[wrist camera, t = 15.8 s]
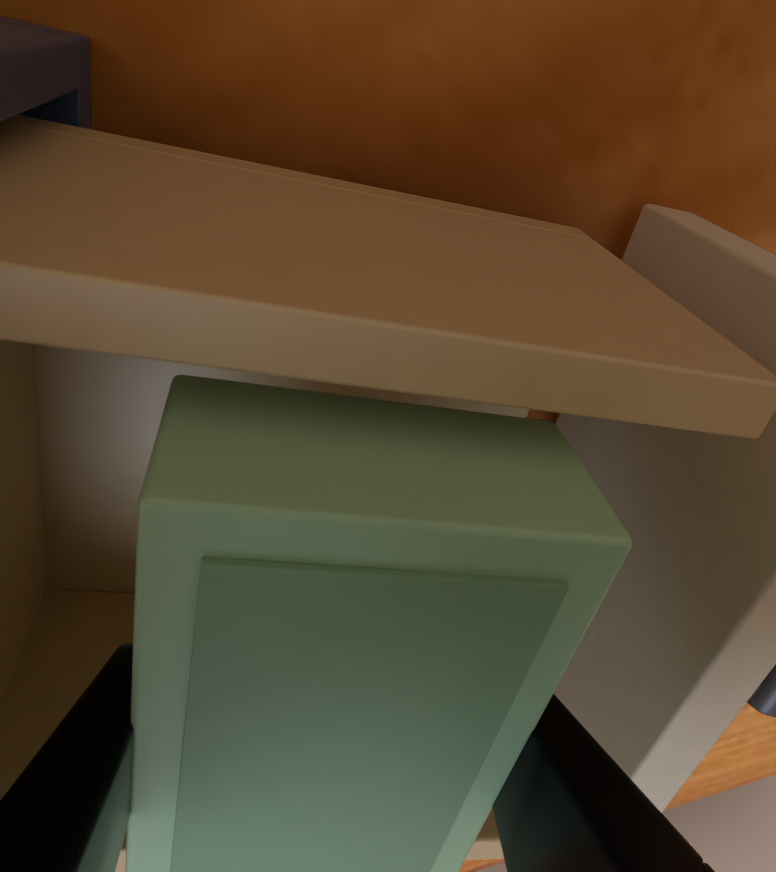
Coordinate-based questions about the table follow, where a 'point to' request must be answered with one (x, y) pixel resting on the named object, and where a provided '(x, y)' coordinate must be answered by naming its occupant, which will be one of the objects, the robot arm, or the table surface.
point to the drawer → (386, 380)
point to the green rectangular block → (347, 624)
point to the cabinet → (44, 73)
